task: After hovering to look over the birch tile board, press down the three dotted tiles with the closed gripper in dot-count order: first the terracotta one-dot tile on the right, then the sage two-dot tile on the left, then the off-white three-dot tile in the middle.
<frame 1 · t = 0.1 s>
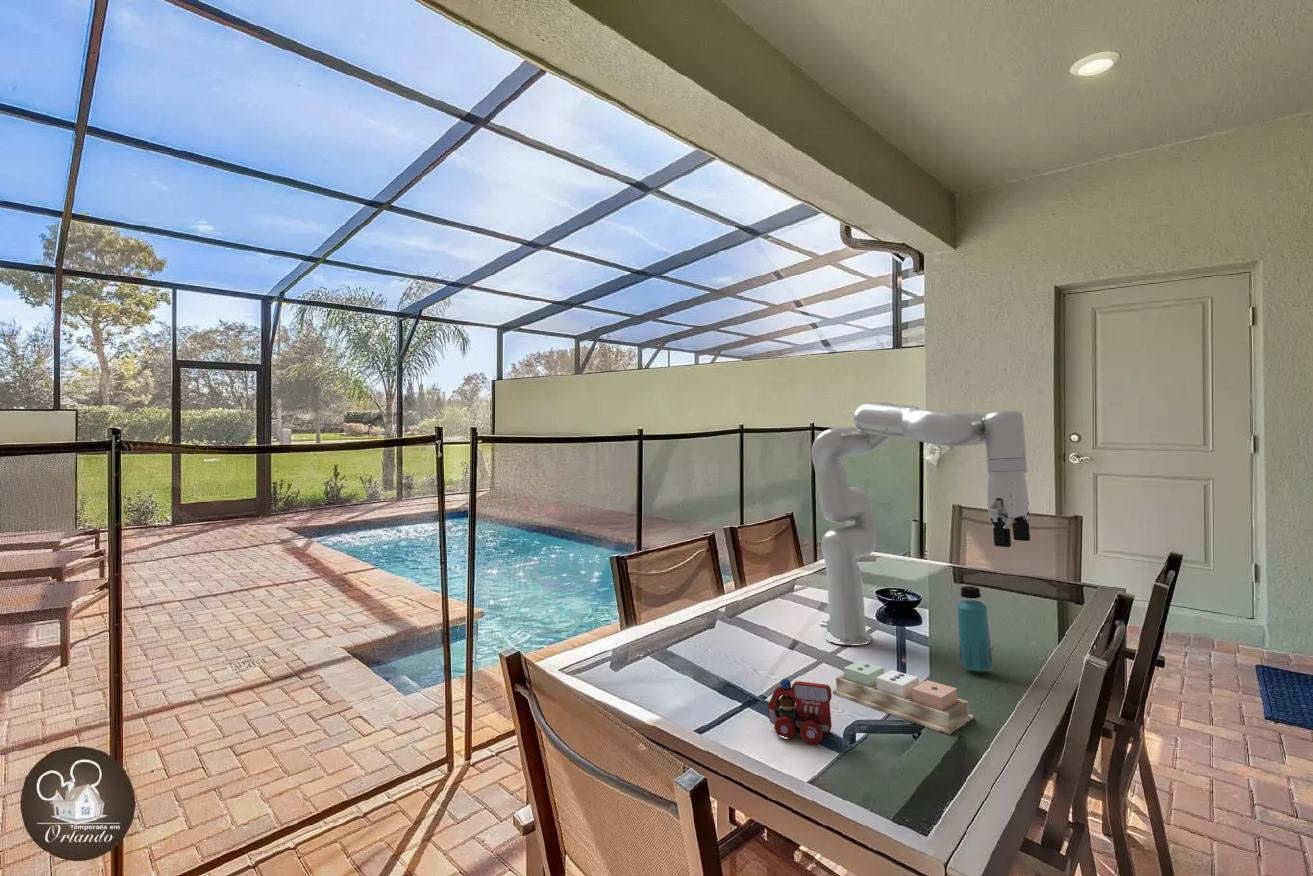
hand: (1012, 543, 129), 31 cm above the table, tool pointing down, fingers open, 9 cm apart
one dot tile: (934, 697, 116), point 4 cm above the table, slide at 0.0 cm
tile board: (898, 705, 122), on the table
toy fire truck: (801, 735, 113), on the table
three dot tile: (897, 685, 122), point 4 cm above the table, slide at 0.0 cm
two dot tile: (864, 675, 129), point 4 cm above the table, slide at 0.0 cm
beverage bottle: (976, 673, 136), on the table
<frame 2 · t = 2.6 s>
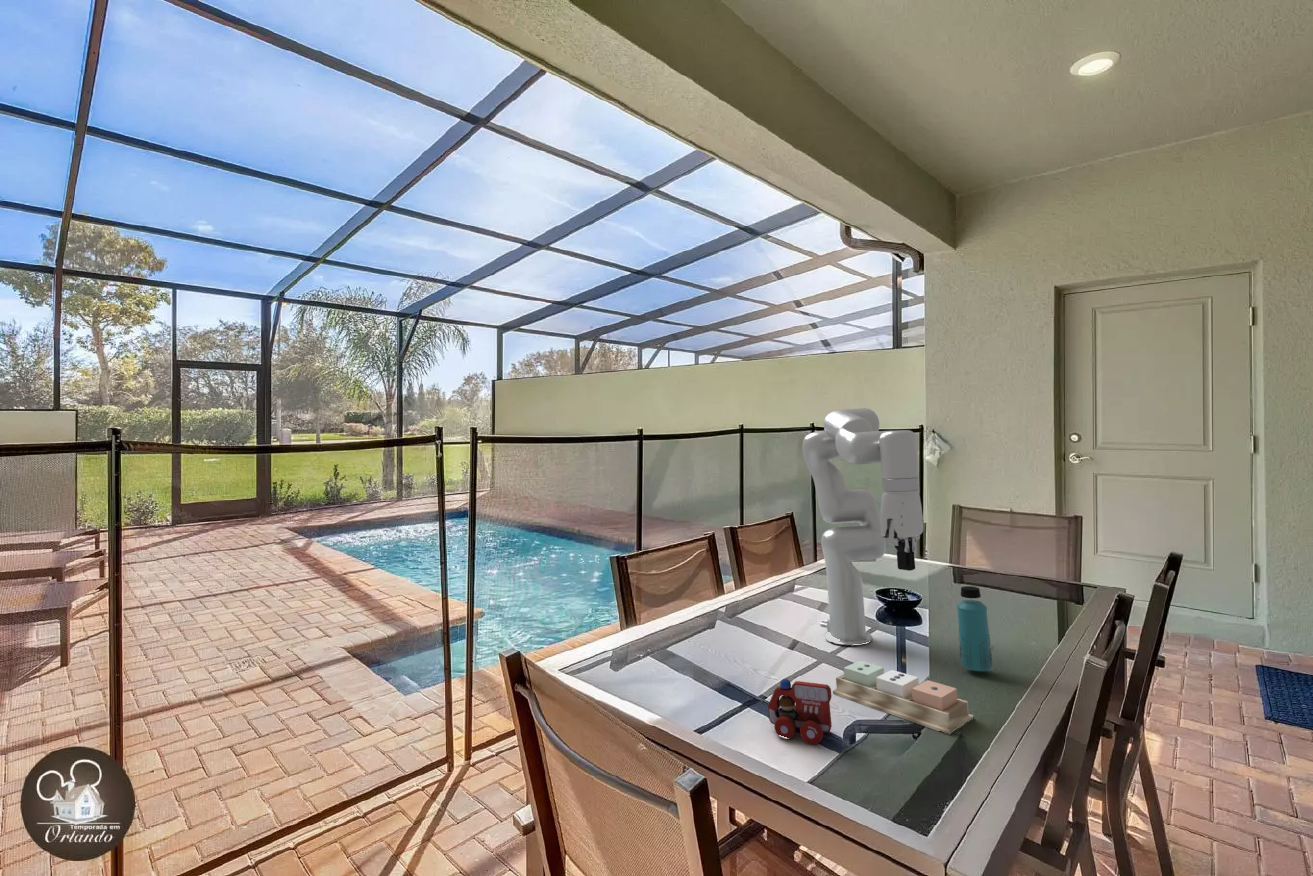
hand: (906, 569, 128), 27 cm above the table, tool pointing down, fingers closed
nothing on the table moved.
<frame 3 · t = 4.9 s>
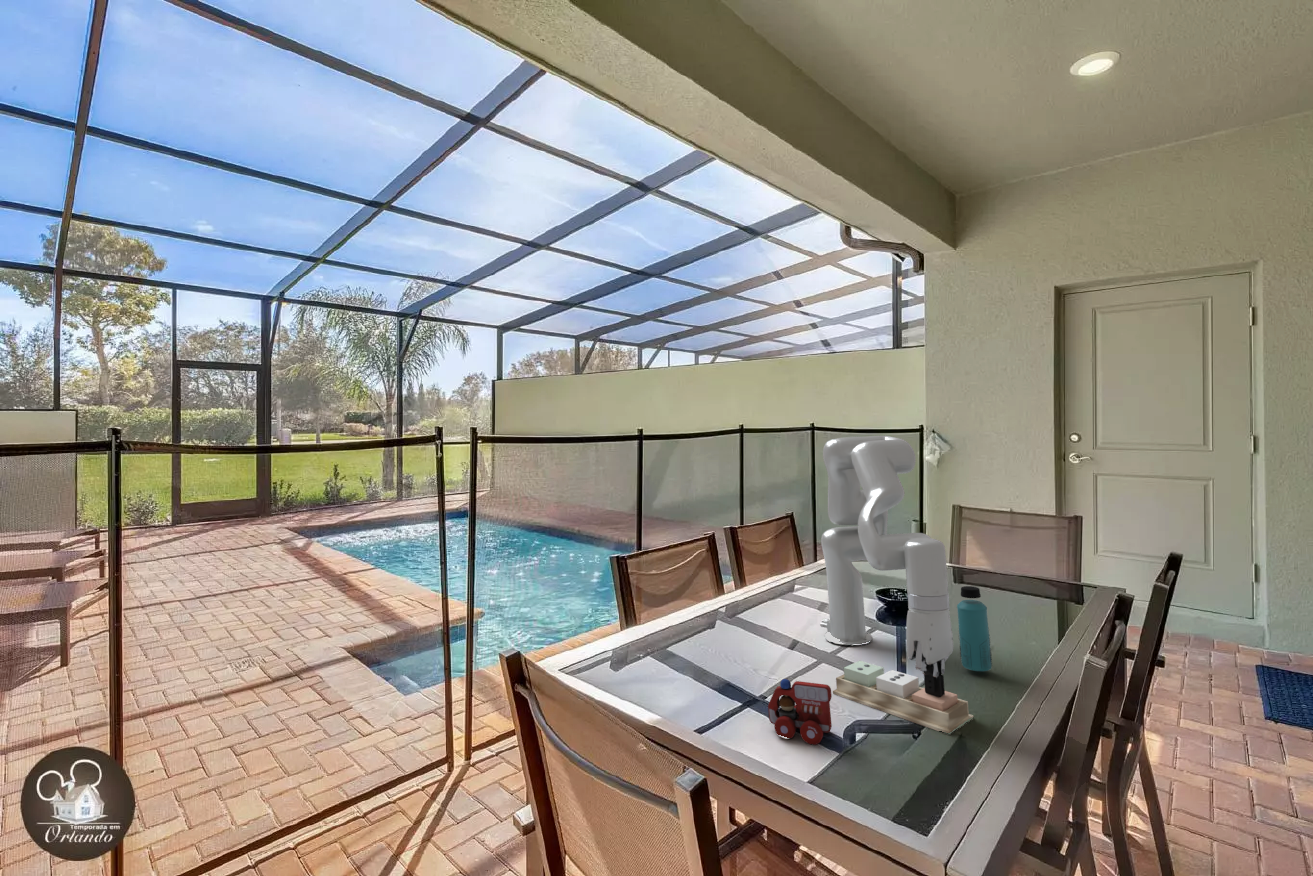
hand: (935, 694, 116), 5 cm above the table, tool pointing down, fingers closed
one dot tile: (935, 703, 116), point 3 cm above the table, slide at 1.2 cm, touching gripper
everything else where it was.
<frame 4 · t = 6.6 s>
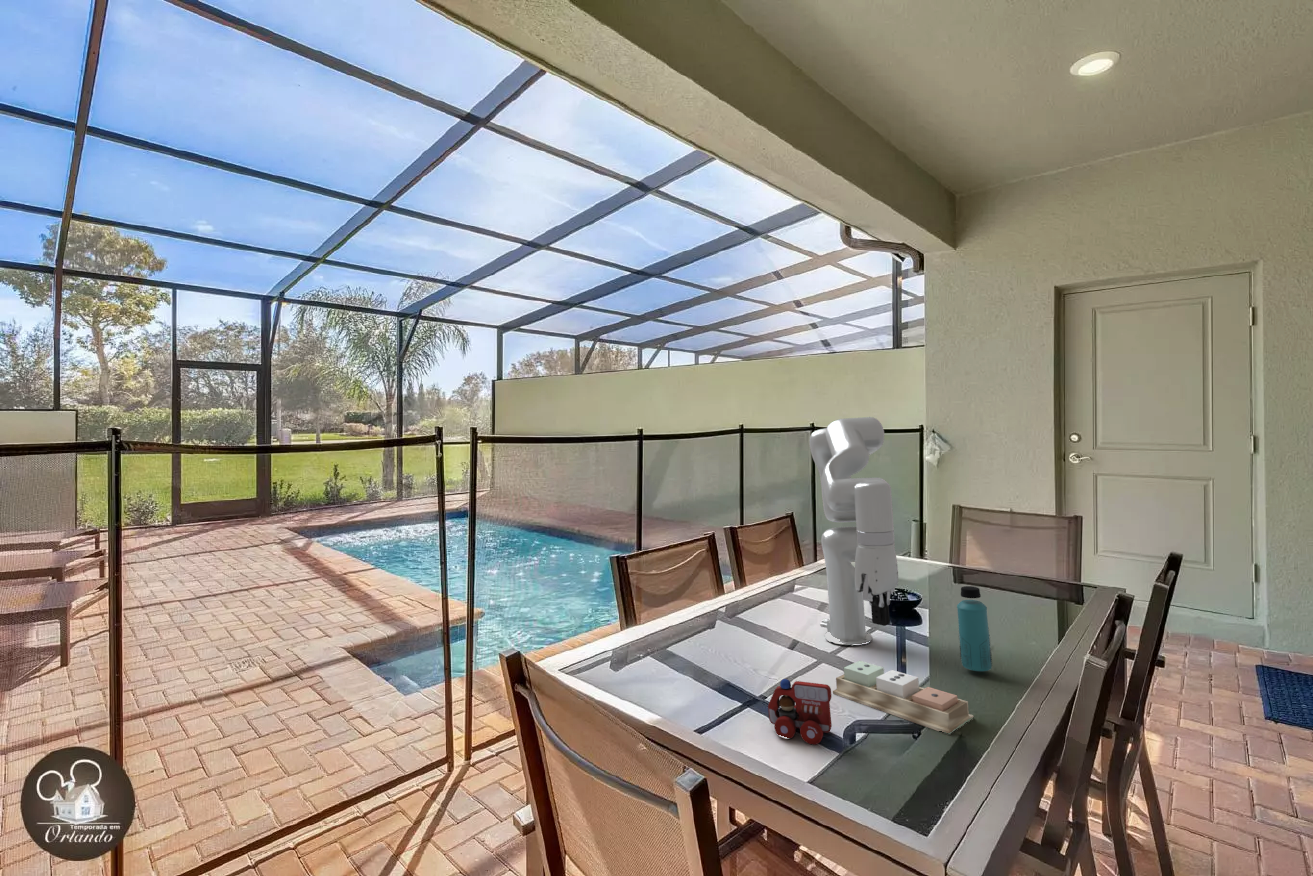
hand: (881, 623, 125), 16 cm above the table, tool pointing down, fingers closed
one dot tile: (935, 704, 116), point 3 cm above the table, slide at 1.4 cm
everything else where it was.
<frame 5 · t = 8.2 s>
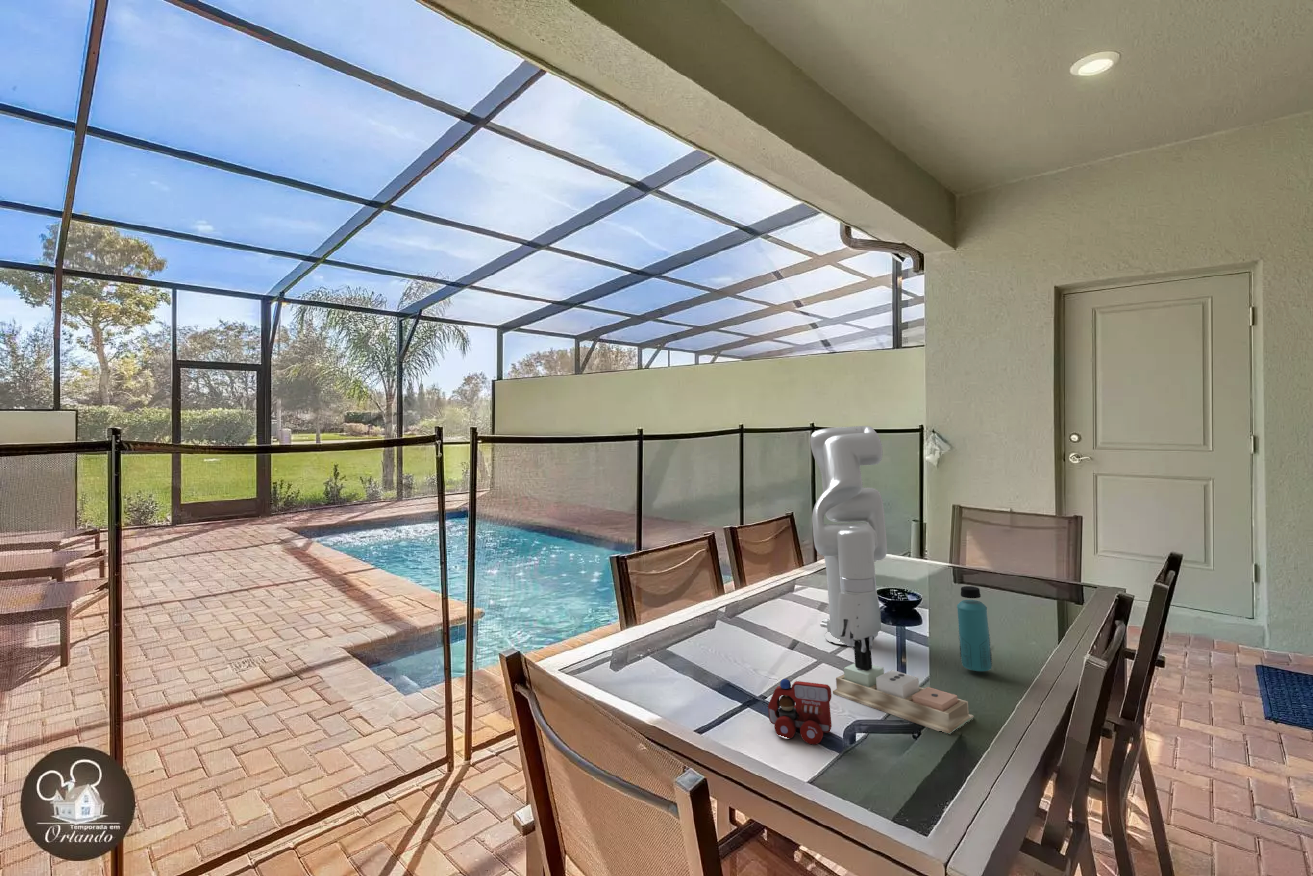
hand: (863, 668, 128), 6 cm above the table, tool pointing down, fingers closed
two dot tile: (864, 675, 129), point 4 cm above the table, slide at 0.1 cm, touching gripper
everything else where it was.
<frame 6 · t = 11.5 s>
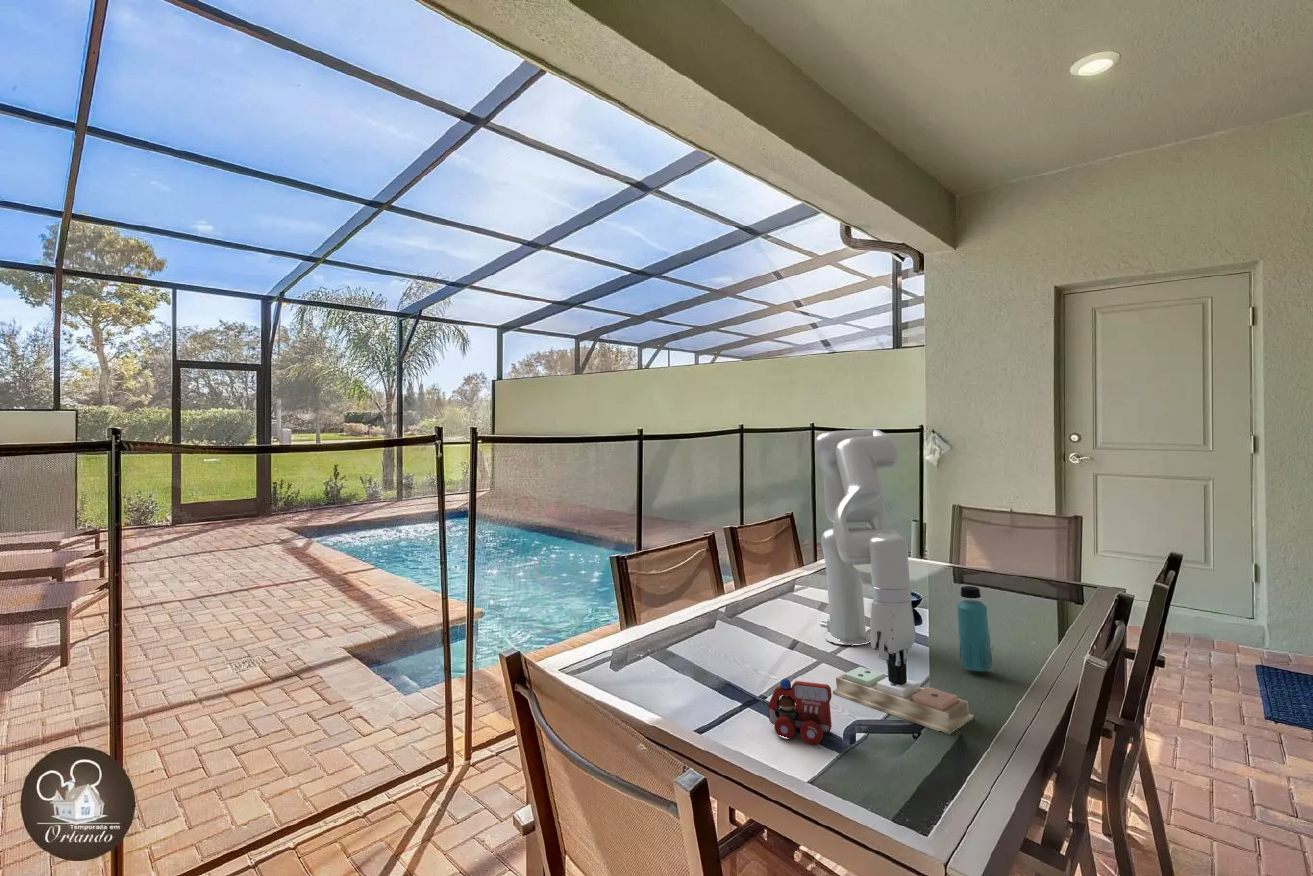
hand: (897, 682, 122), 5 cm above the table, tool pointing down, fingers closed
three dot tile: (897, 690, 122), point 3 cm above the table, slide at 1.1 cm
two dot tile: (864, 681, 129), point 3 cm above the table, slide at 1.4 cm
everything else where it was.
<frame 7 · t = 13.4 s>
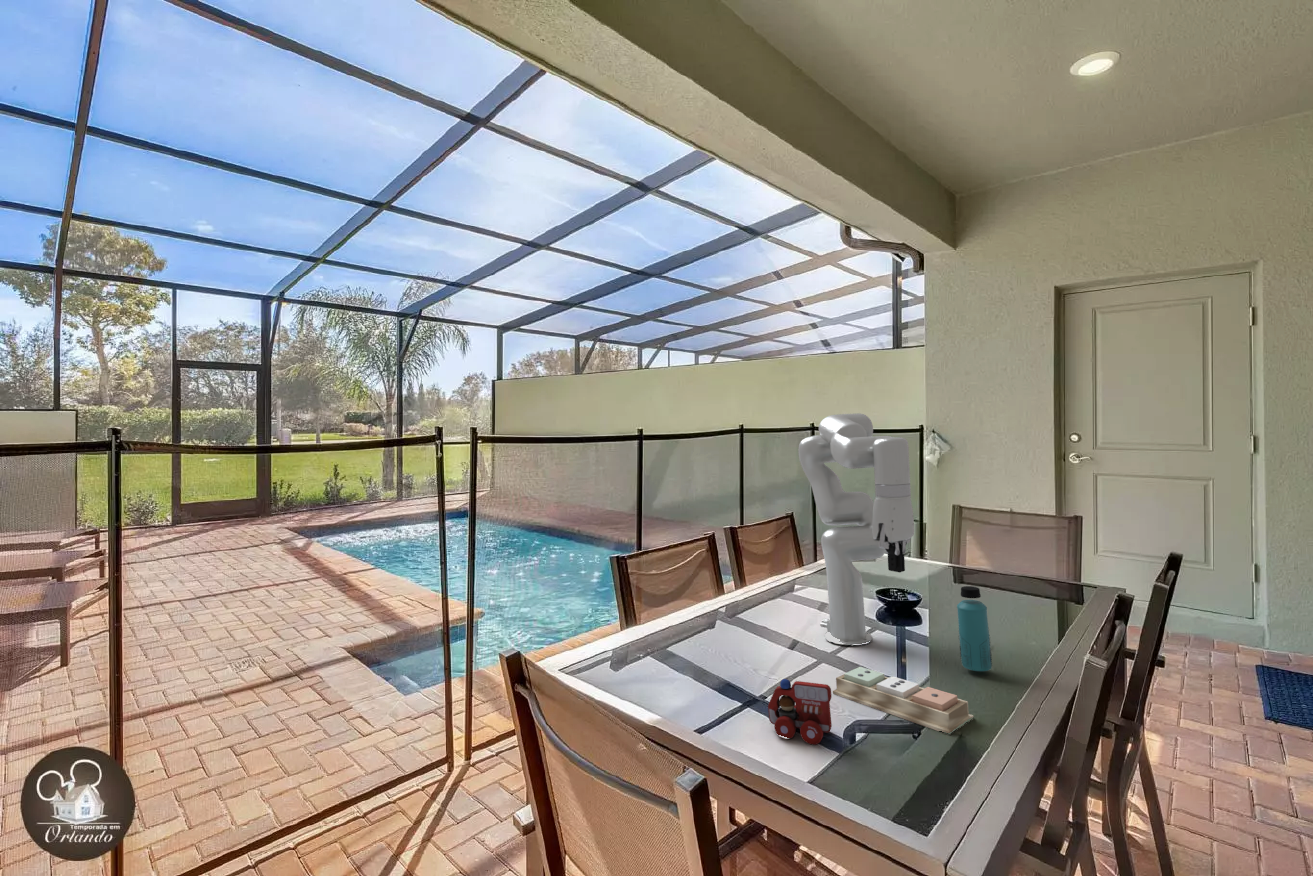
hand: (896, 570, 134), 26 cm above the table, tool pointing down, fingers closed
three dot tile: (898, 692, 122), point 3 cm above the table, slide at 1.4 cm
everything else where it was.
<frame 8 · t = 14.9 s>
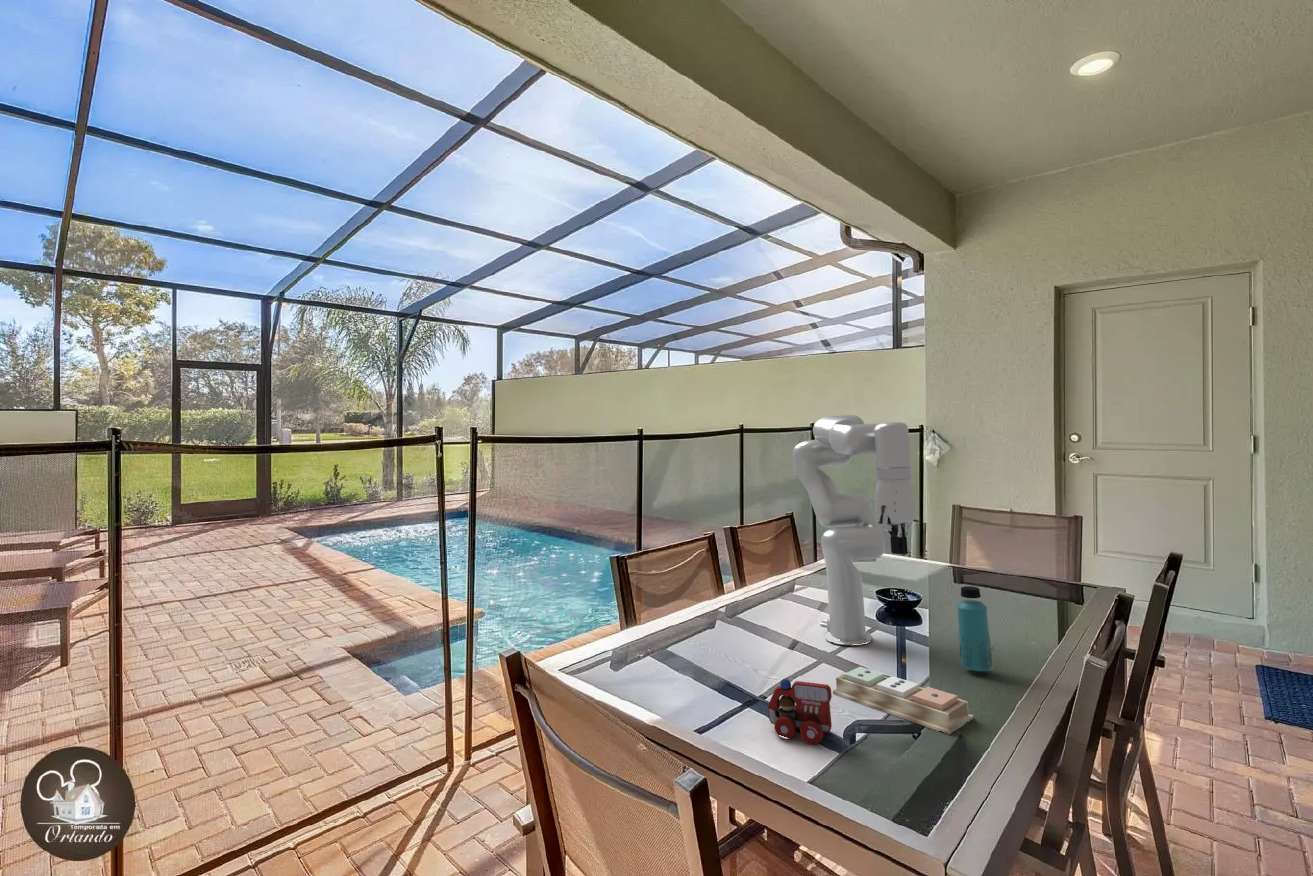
hand: (899, 553, 136), 29 cm above the table, tool pointing down, fingers closed
nothing on the table moved.
at the end: one dot tile slide at 1.4 cm; two dot tile slide at 1.4 cm; three dot tile slide at 1.4 cm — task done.
